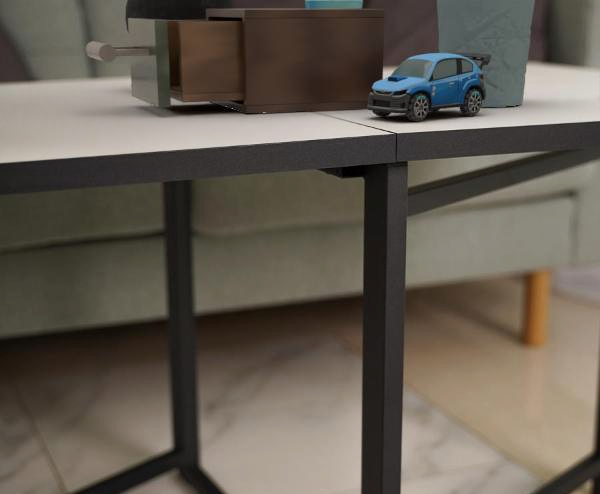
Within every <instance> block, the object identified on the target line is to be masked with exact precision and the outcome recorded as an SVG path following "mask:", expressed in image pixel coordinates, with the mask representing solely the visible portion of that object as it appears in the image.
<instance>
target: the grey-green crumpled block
mask: <svg viewBox="0 0 600 494" xmlns="http://www.w3.org/2000/svg"><path fill="white" fill-rule="evenodd" d="M535 3H536V0H436V8H437V10H436V11H437V20H438V21H437V23H438V24H437V25H438V27H437V28H438V51H439V52H438V53H450V54H452V53H478V54H490V55H491V60H490V62H489V63H488V65H484V66H483V67H482V72H483V80H484V84H485V87H486V98H485V100H482V106H481V107H497V108H507V107H506V106H514V107H517V106H516V105H520V106H522V104H523V101H524V94H525V88H526V87H525V86H526V74H527V65H528V61H529V53H530V46H531V34H532V30H531V28H532V27H531V26H532V23H533V15H534V10H535ZM466 58H473V57H466ZM477 59H481V58H478V57H477ZM472 61H473V62H474V63H475V64H476V65H477V66H478V67H479V66H480V65H481V63H482V61H478V60H472Z"/></svg>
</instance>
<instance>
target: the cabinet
mask: <svg viewBox="0 0 600 494" xmlns="http://www.w3.org/2000/svg"><path fill="white" fill-rule="evenodd" d="M385 15H386V10H385V8H362V9H306V8H235V9H206V20H242V24H243V79H244V100H235V101H209V103H211V102H212V103H211V104H214V103H216V104H215V105H217V104H219V105H218V106H220V105H223V106H227V107H229V108H233V109H235V110H234V111H236V110H239V111H241V112H240V113H242V112H244V113H243V114H245V113H263V112H285V113H294V112H293V111H307V112H323V111H324V112H327V111H345V110H346V111H347V110H351V111H352V110H368V109H367V106H368V95H369V94H370V93H371V89H372V86H373V84H374V83H375V82H377V81H379V80H383V79H384V51H385V50H384V48H385V18H386V16H385ZM223 106H222V107H223ZM229 108H228V109H229ZM239 111H238V112H239ZM263 114H264V113H263Z"/></svg>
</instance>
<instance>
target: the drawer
mask: <svg viewBox="0 0 600 494" xmlns="http://www.w3.org/2000/svg"><path fill="white" fill-rule="evenodd" d="M128 30H129V34H128V44H129V45H125V46H123V45H122V46H121V45H120V46H114V45H112V44H109V43H104V42H99V41H95V40H93V41H90V42H88V43H87V44H86V46H85V53H86V55H87V56H88V57H89V58H91V59H95V60H98V61H101V62H103V63H111V62H113V61H115V59H116V57H129V62H130V64H129V65H130V82H131V83H130V85H131V97H133V98H135V99H138V100H140V101H142V102H144V103H147V104H150V105H152V106H154V107H157V108H171V107H172V100H175V101H177V102H181V103H203V102H204V103H207V102H209V101H235V100H244V79H243V24H242V20H161V19H145V18H128ZM171 99H172V100H171ZM209 103H210V102H209Z"/></svg>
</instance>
